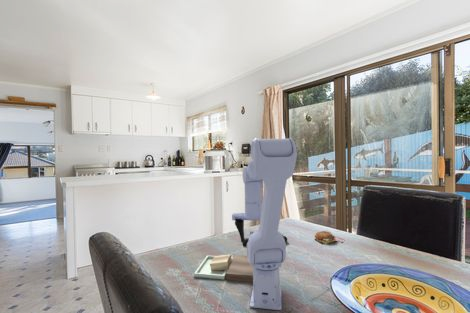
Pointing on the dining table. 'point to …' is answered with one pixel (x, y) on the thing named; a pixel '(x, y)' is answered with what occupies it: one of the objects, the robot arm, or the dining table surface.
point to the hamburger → (325, 237)
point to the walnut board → (240, 269)
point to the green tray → (209, 270)
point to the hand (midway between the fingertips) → (253, 241)
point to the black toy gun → (252, 233)
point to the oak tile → (220, 262)
